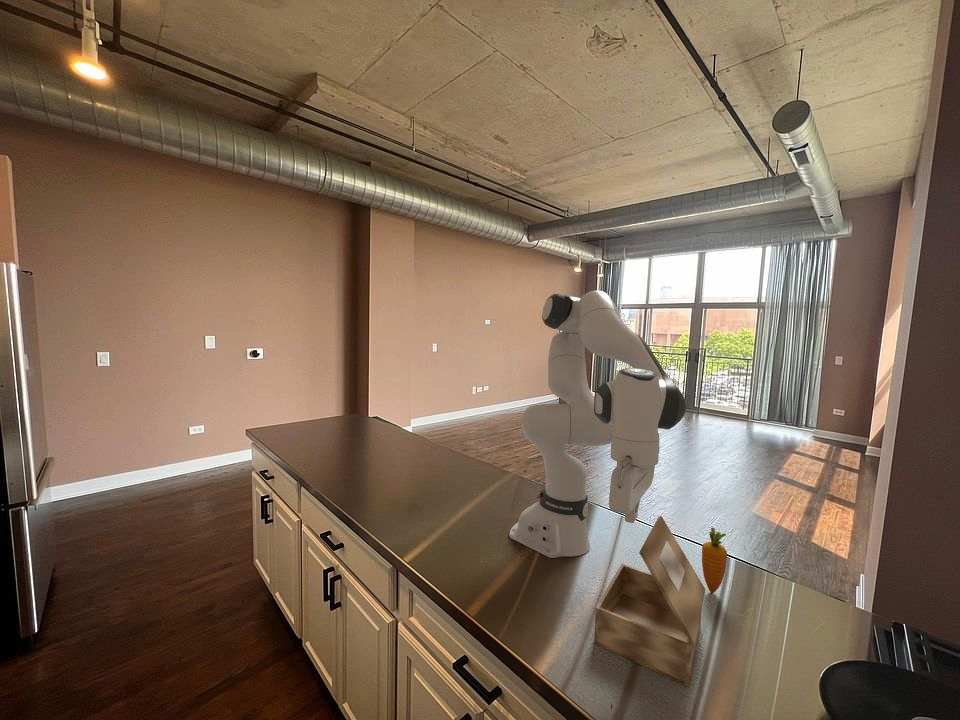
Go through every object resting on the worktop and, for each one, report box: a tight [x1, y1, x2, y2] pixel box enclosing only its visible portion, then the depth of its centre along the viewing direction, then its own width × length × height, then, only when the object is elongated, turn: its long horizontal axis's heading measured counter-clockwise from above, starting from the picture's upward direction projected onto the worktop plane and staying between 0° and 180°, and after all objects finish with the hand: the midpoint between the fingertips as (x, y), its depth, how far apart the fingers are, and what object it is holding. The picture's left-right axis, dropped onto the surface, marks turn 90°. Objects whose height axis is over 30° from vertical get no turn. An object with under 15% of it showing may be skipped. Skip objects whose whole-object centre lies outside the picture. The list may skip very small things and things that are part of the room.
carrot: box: [701, 527, 728, 594], centre depth 91 cm, size 5×5×15 cm
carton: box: [593, 563, 702, 688], centre depth 78 cm, size 16×18×7 cm
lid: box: [638, 515, 706, 644], centre depth 75 cm, size 16×18×1 cm
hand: (631, 520), depth 79 cm, fingers closed
